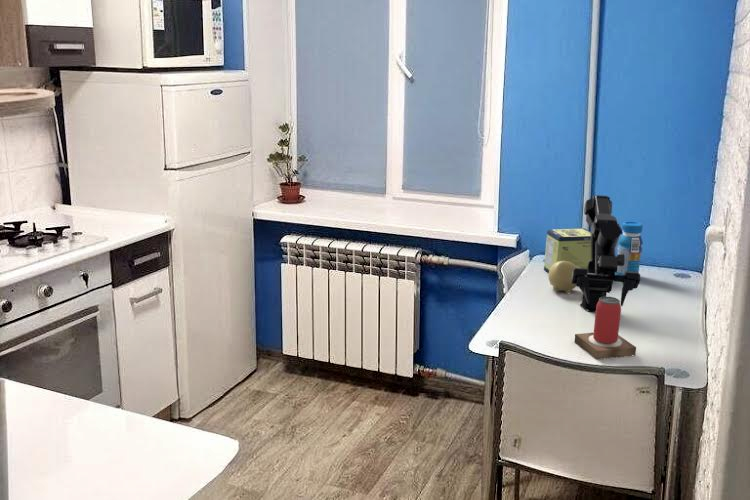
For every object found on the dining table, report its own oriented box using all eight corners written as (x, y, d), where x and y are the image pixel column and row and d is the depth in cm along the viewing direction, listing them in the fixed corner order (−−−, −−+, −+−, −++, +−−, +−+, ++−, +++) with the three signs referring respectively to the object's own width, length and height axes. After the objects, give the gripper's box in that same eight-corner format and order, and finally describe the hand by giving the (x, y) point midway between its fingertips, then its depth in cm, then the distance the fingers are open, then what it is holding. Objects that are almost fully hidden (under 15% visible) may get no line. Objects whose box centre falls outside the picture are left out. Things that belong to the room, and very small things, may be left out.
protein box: (594, 276, 277) (599, 235, 273) (554, 278, 274) (558, 236, 270) (581, 267, 287) (585, 227, 283) (542, 269, 284) (546, 229, 279)
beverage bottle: (611, 277, 276) (617, 224, 271) (617, 271, 283) (624, 219, 278) (635, 281, 272) (642, 227, 267) (641, 275, 279) (647, 222, 273)
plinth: (611, 338, 221) (612, 330, 221) (635, 355, 210) (636, 347, 209) (574, 342, 218) (575, 333, 218) (596, 359, 207) (597, 350, 206)
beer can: (622, 343, 212) (626, 302, 208) (601, 345, 210) (605, 304, 206) (608, 334, 218) (613, 294, 214) (588, 336, 216) (592, 296, 212)
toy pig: (586, 296, 256) (589, 266, 253) (550, 295, 256) (553, 265, 253) (579, 286, 266) (582, 257, 263) (544, 285, 266) (547, 256, 263)
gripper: (576, 241, 220) (574, 289, 213) (643, 245, 217) (644, 294, 210) (571, 259, 230) (570, 306, 223) (636, 263, 227) (637, 311, 220)
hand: (605, 304), depth 218 cm, fingers open, 9 cm apart
